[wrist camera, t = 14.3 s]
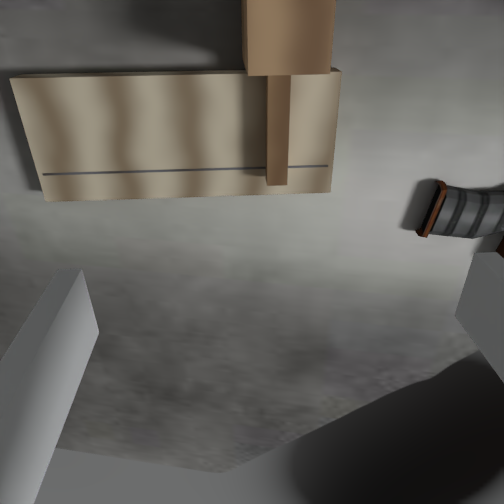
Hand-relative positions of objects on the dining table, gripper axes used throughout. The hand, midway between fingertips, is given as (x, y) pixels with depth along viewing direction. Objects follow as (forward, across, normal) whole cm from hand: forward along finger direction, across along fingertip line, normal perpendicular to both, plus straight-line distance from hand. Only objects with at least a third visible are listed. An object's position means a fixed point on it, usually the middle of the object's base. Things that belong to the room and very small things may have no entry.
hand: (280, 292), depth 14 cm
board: (+32, -6, -3) cm, 32 cm away
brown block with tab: (+32, +3, +1) cm, 32 cm away
